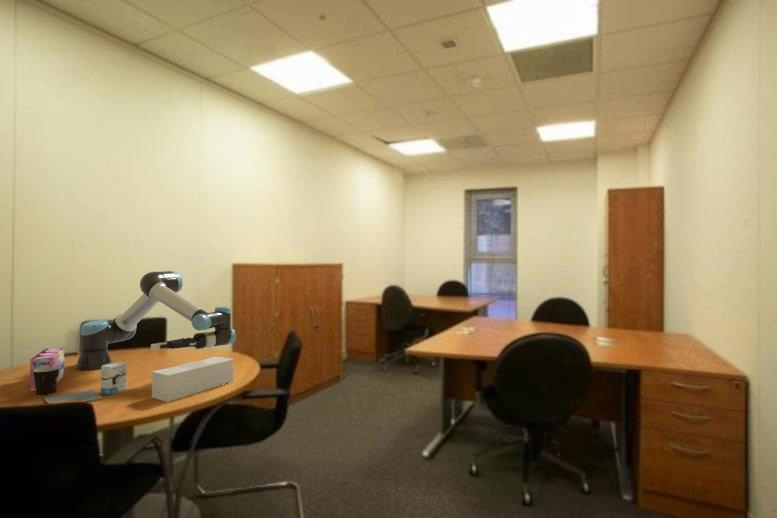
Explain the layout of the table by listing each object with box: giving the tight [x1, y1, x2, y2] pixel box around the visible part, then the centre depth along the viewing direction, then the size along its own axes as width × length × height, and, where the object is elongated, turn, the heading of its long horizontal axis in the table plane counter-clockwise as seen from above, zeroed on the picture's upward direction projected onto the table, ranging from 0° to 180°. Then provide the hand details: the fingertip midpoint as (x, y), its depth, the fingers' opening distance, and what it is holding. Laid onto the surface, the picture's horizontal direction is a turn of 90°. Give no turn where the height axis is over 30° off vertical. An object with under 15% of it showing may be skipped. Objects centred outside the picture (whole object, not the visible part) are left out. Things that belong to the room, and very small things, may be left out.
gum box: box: [29, 347, 65, 391], centre depth 191 cm, size 24×8×14 cm, turn 27°
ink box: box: [100, 361, 127, 396], centre depth 179 cm, size 8×5×12 cm, turn 168°
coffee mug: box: [33, 367, 60, 396], centre depth 174 cm, size 12×9×10 cm
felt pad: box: [43, 388, 103, 403], centre depth 168 cm, size 16×16×1 cm
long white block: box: [151, 356, 235, 403], centre depth 183 cm, size 32×11×11 cm, turn 151°
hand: (151, 347), depth 189 cm, fingers closed
